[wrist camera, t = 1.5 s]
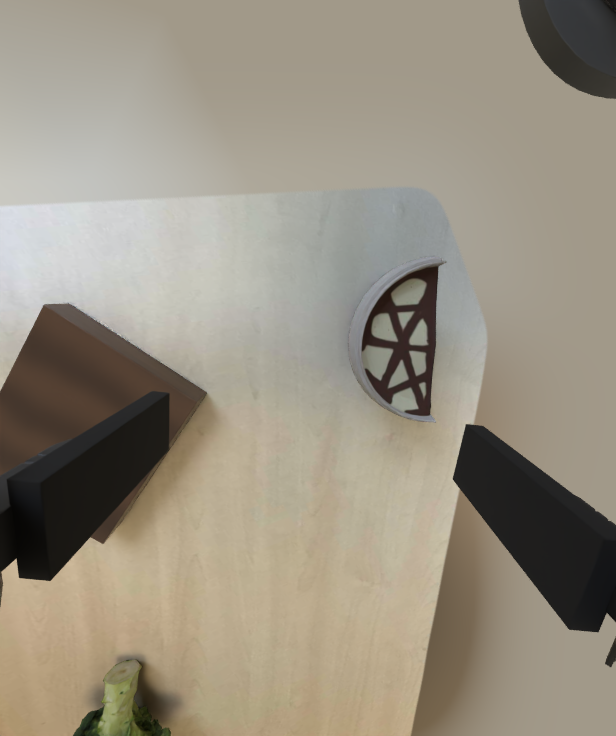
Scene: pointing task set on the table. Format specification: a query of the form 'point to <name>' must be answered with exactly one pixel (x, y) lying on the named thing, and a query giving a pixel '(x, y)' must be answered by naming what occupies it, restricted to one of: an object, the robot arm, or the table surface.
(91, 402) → the board
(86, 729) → the vegetable
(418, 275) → the food container
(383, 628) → the table surface
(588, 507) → the robot arm
